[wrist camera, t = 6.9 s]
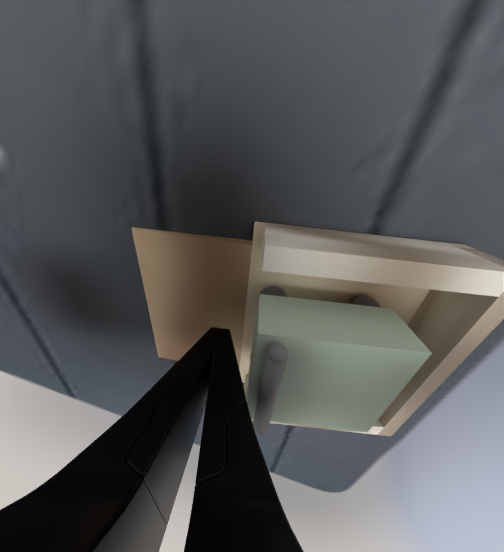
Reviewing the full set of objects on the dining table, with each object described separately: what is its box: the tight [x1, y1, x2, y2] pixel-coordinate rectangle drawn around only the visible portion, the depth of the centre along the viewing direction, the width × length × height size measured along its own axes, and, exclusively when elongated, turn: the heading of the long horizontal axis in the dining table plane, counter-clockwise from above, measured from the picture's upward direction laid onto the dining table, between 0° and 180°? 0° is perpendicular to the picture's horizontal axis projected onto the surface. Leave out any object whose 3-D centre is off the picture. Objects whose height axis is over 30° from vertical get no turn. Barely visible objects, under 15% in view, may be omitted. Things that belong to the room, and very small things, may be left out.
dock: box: [131, 221, 504, 436], centre depth 9 cm, size 13×10×3 cm
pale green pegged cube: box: [246, 286, 432, 434], centre depth 8 cm, size 5×5×4 cm
